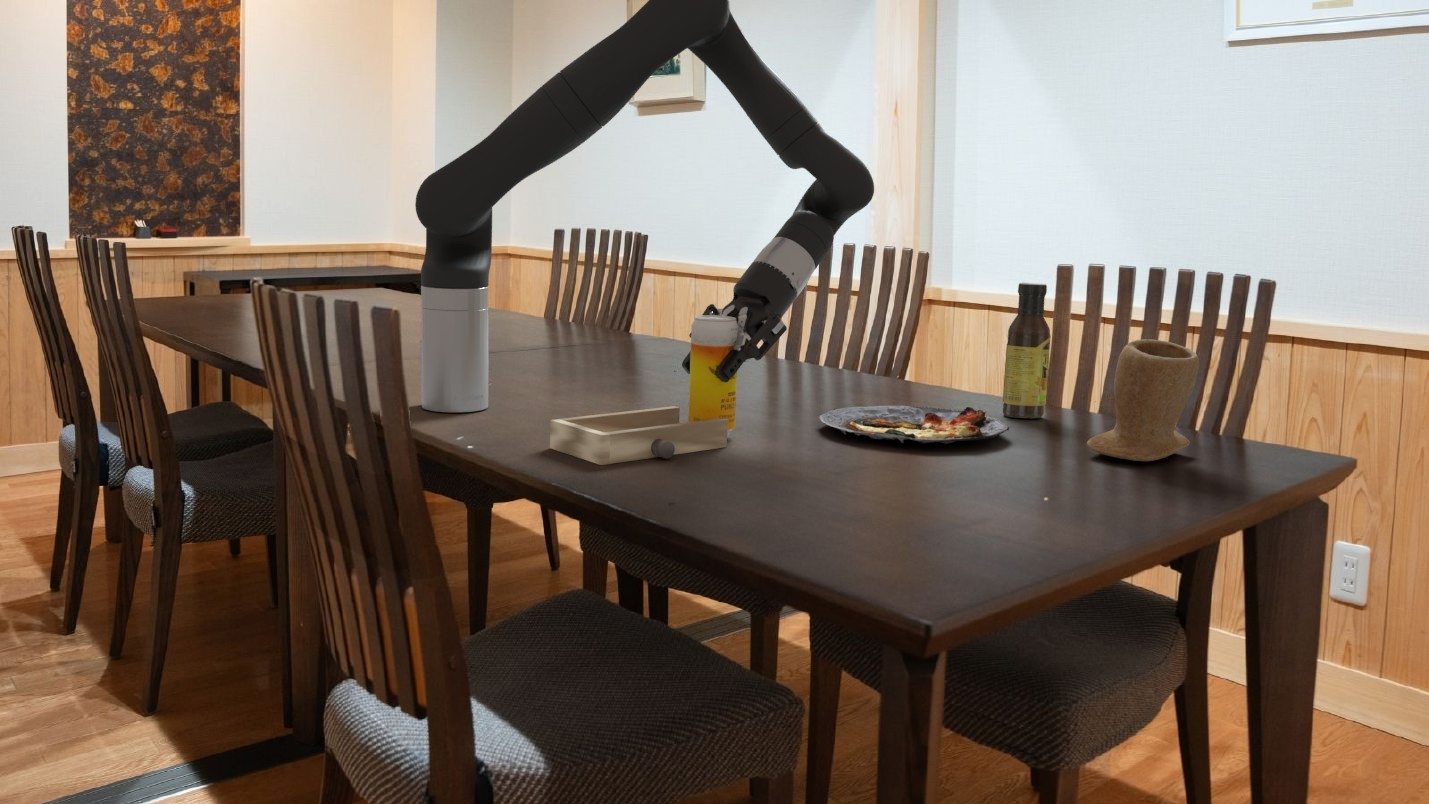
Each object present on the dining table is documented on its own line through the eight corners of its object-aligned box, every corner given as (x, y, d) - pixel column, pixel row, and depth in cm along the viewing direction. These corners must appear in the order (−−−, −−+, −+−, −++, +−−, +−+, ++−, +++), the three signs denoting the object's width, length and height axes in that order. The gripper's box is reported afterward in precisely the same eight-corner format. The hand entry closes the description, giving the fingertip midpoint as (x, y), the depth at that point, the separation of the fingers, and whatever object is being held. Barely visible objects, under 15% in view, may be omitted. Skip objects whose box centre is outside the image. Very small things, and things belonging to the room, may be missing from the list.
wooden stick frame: (541, 445, 149) (541, 417, 148) (663, 429, 161) (664, 403, 161) (611, 468, 138) (611, 438, 137) (737, 449, 150) (738, 422, 150)
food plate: (1023, 429, 170) (1024, 404, 170) (986, 462, 149) (987, 434, 149) (853, 415, 181) (854, 392, 180) (797, 443, 160) (797, 417, 159)
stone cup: (1165, 474, 146) (1178, 350, 143) (1073, 457, 154) (1084, 339, 151) (1213, 457, 157) (1226, 342, 154) (1125, 441, 165) (1136, 332, 162)
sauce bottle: (1048, 421, 178) (1059, 285, 174) (1005, 419, 178) (1015, 284, 175) (1039, 413, 184) (1050, 282, 181) (998, 411, 184) (1008, 280, 181)
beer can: (729, 438, 154) (734, 321, 151) (683, 435, 155) (687, 318, 152) (738, 429, 160) (743, 316, 157) (693, 426, 161) (697, 313, 158)
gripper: (724, 255, 164) (653, 348, 158) (799, 263, 153) (725, 362, 147) (752, 294, 168) (683, 385, 162) (826, 303, 157) (755, 401, 152)
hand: (703, 373), depth 155 cm, fingers closed on beer can, 6 cm apart
